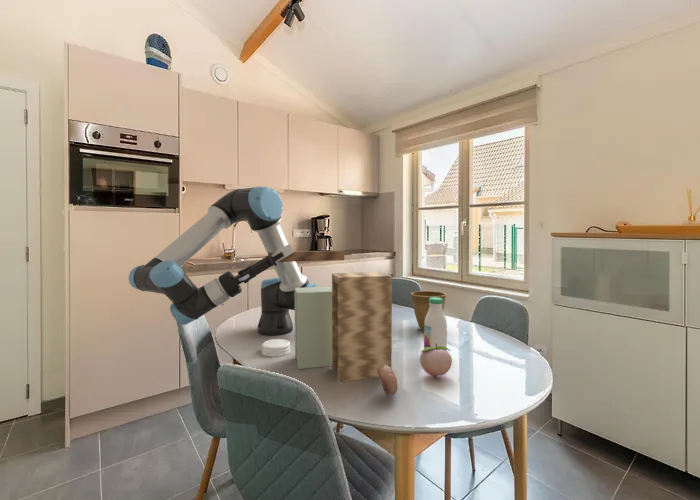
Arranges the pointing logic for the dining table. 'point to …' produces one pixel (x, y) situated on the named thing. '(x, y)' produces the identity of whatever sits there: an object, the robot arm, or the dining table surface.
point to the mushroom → (387, 379)
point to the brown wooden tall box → (361, 324)
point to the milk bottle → (435, 324)
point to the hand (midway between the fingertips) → (291, 247)
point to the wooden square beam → (312, 256)
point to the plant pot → (424, 304)
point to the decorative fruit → (436, 360)
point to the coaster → (275, 347)
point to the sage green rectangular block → (313, 327)
